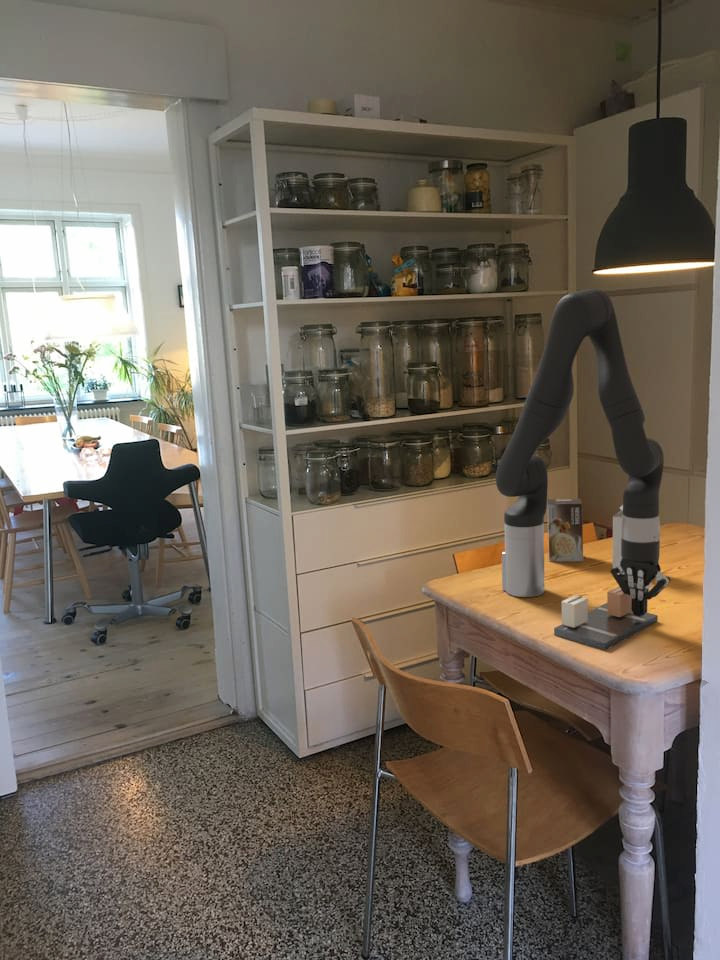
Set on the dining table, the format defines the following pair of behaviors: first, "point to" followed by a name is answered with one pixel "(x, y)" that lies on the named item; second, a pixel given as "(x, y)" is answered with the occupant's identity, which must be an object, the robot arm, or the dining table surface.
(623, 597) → the fader terracotta
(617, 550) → the milk carton
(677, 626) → the dining table surface
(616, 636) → the console board
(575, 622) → the block
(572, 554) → the coffee box
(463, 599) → the dining table surface
